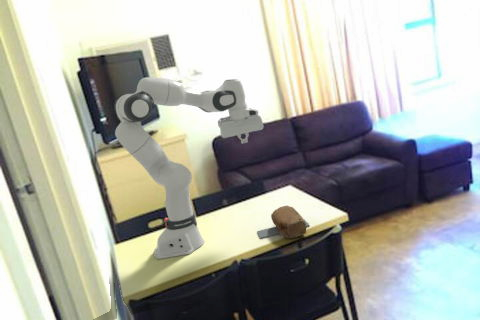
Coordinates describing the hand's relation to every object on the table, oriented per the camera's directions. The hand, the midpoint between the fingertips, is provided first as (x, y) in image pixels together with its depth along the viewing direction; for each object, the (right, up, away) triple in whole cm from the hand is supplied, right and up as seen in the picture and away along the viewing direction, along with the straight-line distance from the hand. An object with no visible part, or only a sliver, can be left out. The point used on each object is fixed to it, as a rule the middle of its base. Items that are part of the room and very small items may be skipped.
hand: (244, 142), depth 196 cm
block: (+17, -32, -7) cm, 37 cm away
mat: (+17, -38, -13) cm, 44 cm away
